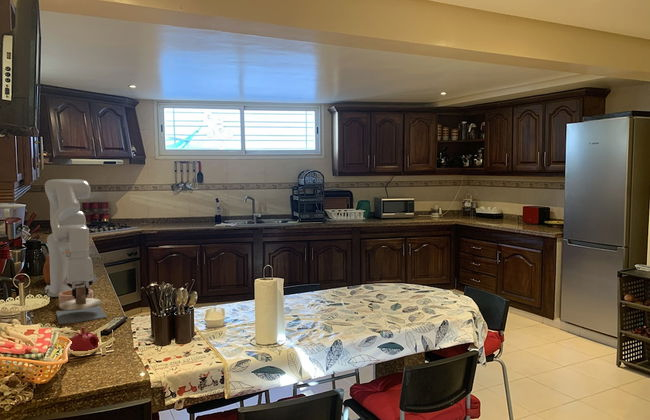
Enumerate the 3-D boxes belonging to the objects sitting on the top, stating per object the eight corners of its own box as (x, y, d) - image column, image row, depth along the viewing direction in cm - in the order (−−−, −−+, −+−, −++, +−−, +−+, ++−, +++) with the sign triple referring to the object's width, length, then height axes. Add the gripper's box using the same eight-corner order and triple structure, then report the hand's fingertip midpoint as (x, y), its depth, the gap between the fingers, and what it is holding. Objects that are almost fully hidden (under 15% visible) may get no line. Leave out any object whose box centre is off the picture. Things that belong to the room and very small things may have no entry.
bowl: (52, 307, 224) (51, 294, 223) (73, 300, 238) (73, 288, 237) (79, 309, 221) (79, 296, 221) (99, 301, 235) (98, 289, 235)
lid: (61, 312, 201) (60, 292, 201) (58, 303, 215) (57, 285, 214) (103, 306, 210) (103, 288, 209) (98, 298, 223) (97, 281, 223)
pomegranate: (66, 361, 161) (64, 334, 160) (68, 351, 170) (67, 325, 170) (99, 356, 165) (98, 329, 164) (100, 346, 174) (98, 321, 173)
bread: (77, 275, 296) (76, 247, 294) (78, 282, 277) (77, 252, 276) (44, 277, 287) (43, 249, 286) (42, 285, 269) (41, 255, 267)
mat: (55, 312, 216) (55, 311, 216) (100, 307, 226) (100, 305, 226) (59, 324, 199) (59, 323, 199) (106, 318, 209) (106, 316, 209)
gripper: (58, 258, 203) (59, 301, 204) (101, 254, 212) (102, 296, 213) (56, 255, 209) (58, 297, 211) (99, 252, 218) (100, 293, 219)
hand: (80, 296), depth 212 cm, fingers closed on lid, 3 cm apart
